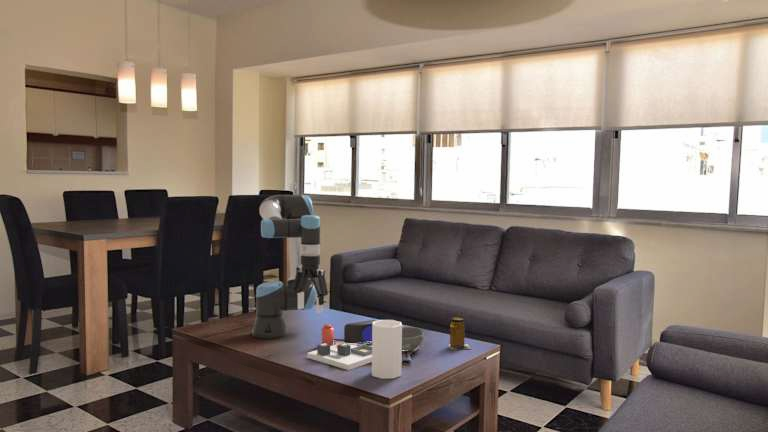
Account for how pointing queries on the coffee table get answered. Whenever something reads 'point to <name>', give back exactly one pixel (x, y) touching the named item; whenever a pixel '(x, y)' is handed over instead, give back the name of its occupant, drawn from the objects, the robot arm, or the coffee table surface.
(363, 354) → the panel
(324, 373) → the coffee table surface
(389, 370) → the white canister
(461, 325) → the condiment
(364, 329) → the leaning round-cornered charcoal block
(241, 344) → the coffee table surface
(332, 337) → the cap
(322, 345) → the breaker
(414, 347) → the bowl
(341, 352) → the breaker
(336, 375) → the coffee table surface
